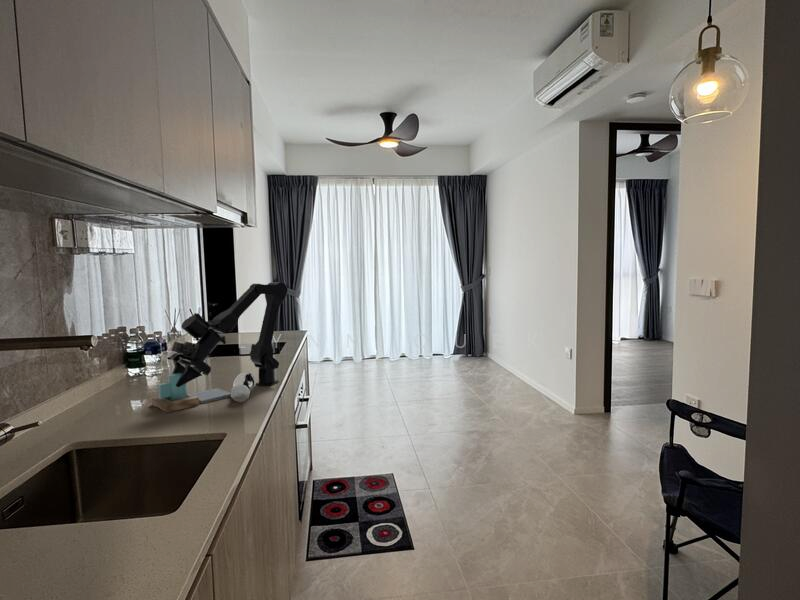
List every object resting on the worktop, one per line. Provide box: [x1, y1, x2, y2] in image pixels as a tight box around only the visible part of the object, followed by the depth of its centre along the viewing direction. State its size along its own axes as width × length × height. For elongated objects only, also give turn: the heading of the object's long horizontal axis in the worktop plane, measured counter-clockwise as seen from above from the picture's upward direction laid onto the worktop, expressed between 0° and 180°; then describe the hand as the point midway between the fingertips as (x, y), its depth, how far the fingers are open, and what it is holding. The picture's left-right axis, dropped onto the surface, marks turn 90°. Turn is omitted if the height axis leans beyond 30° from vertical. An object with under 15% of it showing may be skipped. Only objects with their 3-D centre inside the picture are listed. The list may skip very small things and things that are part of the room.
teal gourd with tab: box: [157, 372, 188, 401], centre depth 152 cm, size 8×5×10 cm, turn 139°
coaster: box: [187, 387, 232, 405], centre depth 161 cm, size 11×11×1 cm
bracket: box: [151, 395, 200, 413], centre depth 152 cm, size 10×12×2 cm
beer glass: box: [230, 371, 255, 403], centre depth 162 cm, size 7×7×15 cm
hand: (173, 384), depth 152 cm, fingers closed on teal gourd with tab, 5 cm apart
